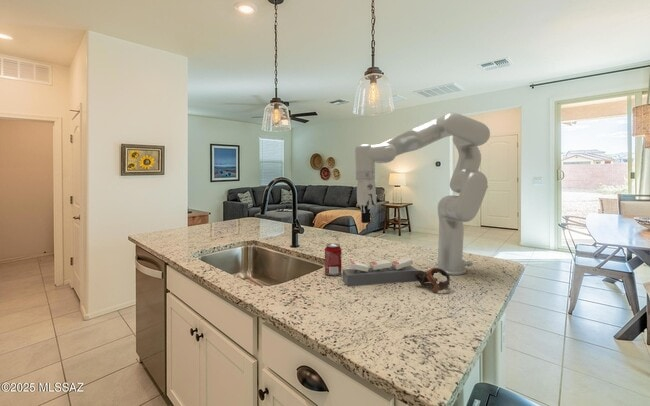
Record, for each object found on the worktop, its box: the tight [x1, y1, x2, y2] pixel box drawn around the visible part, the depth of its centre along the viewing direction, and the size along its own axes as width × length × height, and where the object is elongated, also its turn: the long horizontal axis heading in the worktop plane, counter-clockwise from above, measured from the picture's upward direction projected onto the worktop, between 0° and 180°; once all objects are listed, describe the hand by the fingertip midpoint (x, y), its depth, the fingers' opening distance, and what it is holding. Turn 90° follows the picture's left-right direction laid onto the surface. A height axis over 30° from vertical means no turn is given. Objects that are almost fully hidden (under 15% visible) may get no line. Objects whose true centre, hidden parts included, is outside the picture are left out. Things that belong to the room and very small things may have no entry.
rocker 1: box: [347, 260, 370, 272], centre depth 113 cm, size 7×4×2 cm, turn 102°
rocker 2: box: [369, 259, 392, 270], centre depth 115 cm, size 7×4×2 cm, turn 101°
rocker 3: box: [391, 256, 414, 270], centre depth 117 cm, size 7×4×2 cm, turn 100°
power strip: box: [342, 265, 422, 287], centre depth 116 cm, size 35×7×5 cm, turn 101°
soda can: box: [324, 242, 342, 277], centre depth 123 cm, size 7×7×12 cm
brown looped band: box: [414, 267, 451, 294], centre depth 108 cm, size 12×10×8 cm
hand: (365, 222), depth 120 cm, fingers closed
